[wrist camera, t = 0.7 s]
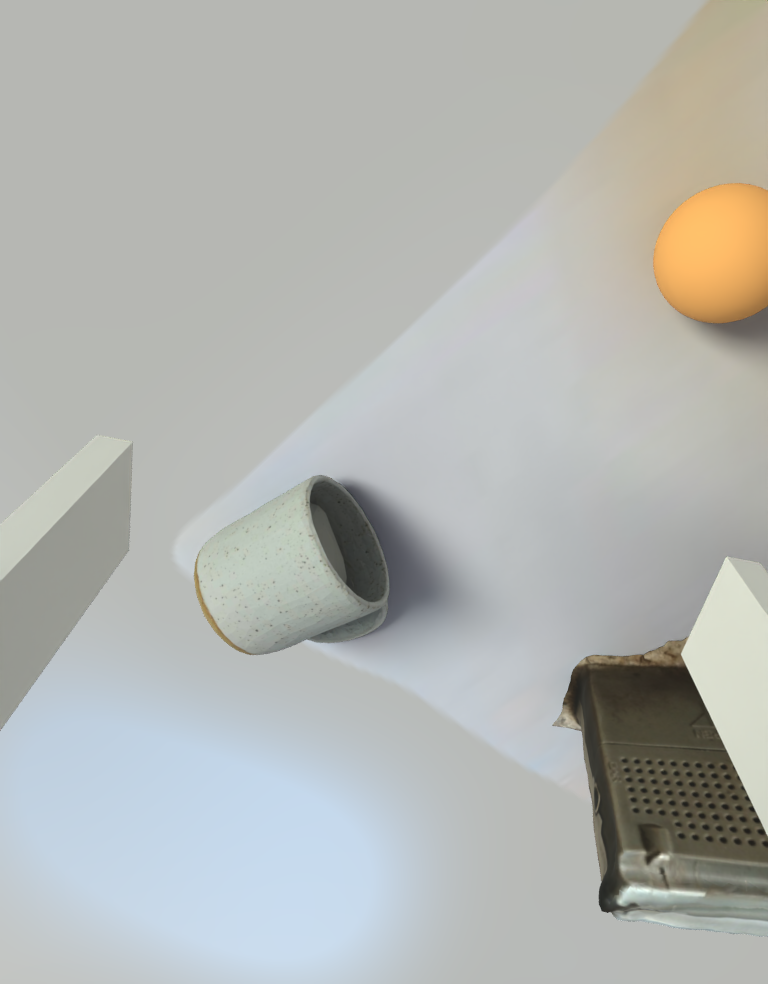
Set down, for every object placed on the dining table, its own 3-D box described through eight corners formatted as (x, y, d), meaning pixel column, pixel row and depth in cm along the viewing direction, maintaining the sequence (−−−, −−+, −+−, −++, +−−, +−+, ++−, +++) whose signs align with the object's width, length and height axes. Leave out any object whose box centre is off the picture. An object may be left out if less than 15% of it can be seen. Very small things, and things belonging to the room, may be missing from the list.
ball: (662, 169, 32) (706, 174, 27) (786, 192, 32) (852, 202, 27) (622, 296, 34) (656, 323, 29) (738, 318, 34) (790, 348, 29)
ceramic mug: (205, 520, 40) (162, 597, 34) (320, 450, 38) (299, 518, 32) (312, 647, 44) (293, 739, 37) (424, 589, 42) (425, 677, 35)
